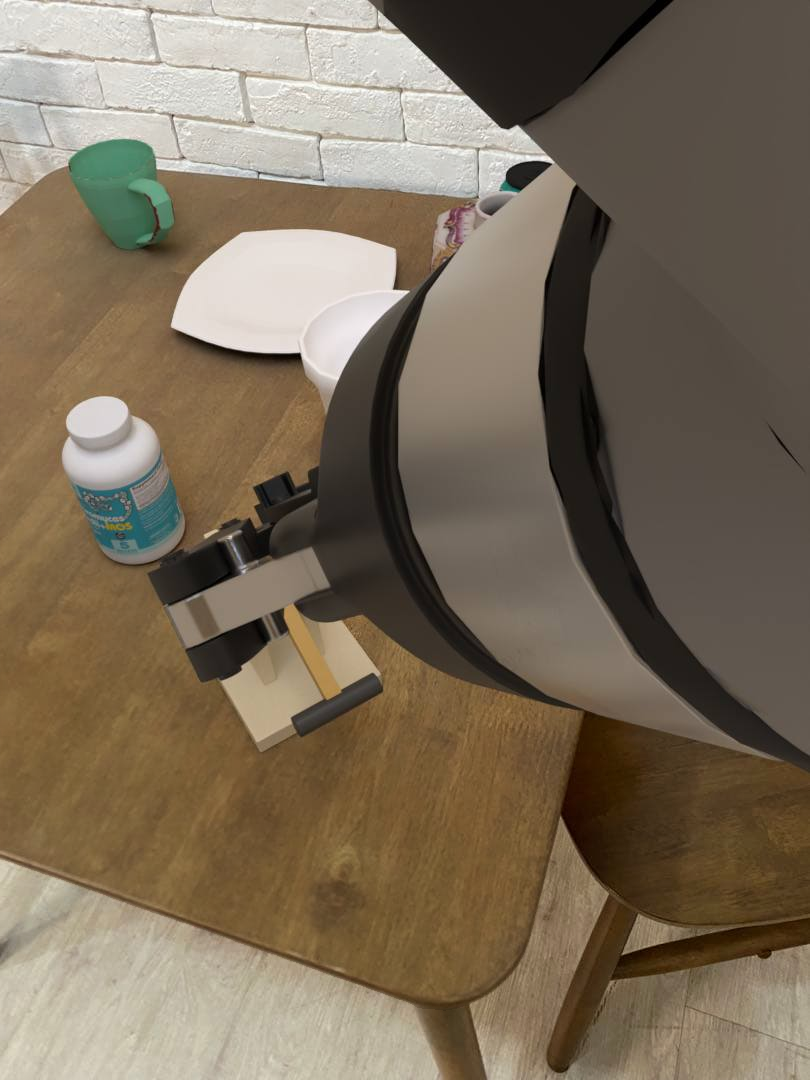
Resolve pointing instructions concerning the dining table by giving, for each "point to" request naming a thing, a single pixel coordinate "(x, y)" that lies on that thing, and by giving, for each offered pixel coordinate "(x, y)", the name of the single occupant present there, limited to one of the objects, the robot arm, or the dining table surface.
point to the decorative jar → (463, 224)
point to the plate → (276, 286)
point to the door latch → (291, 680)
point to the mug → (123, 191)
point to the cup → (340, 335)
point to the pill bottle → (122, 481)
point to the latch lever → (324, 681)
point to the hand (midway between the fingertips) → (286, 530)
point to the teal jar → (523, 175)
